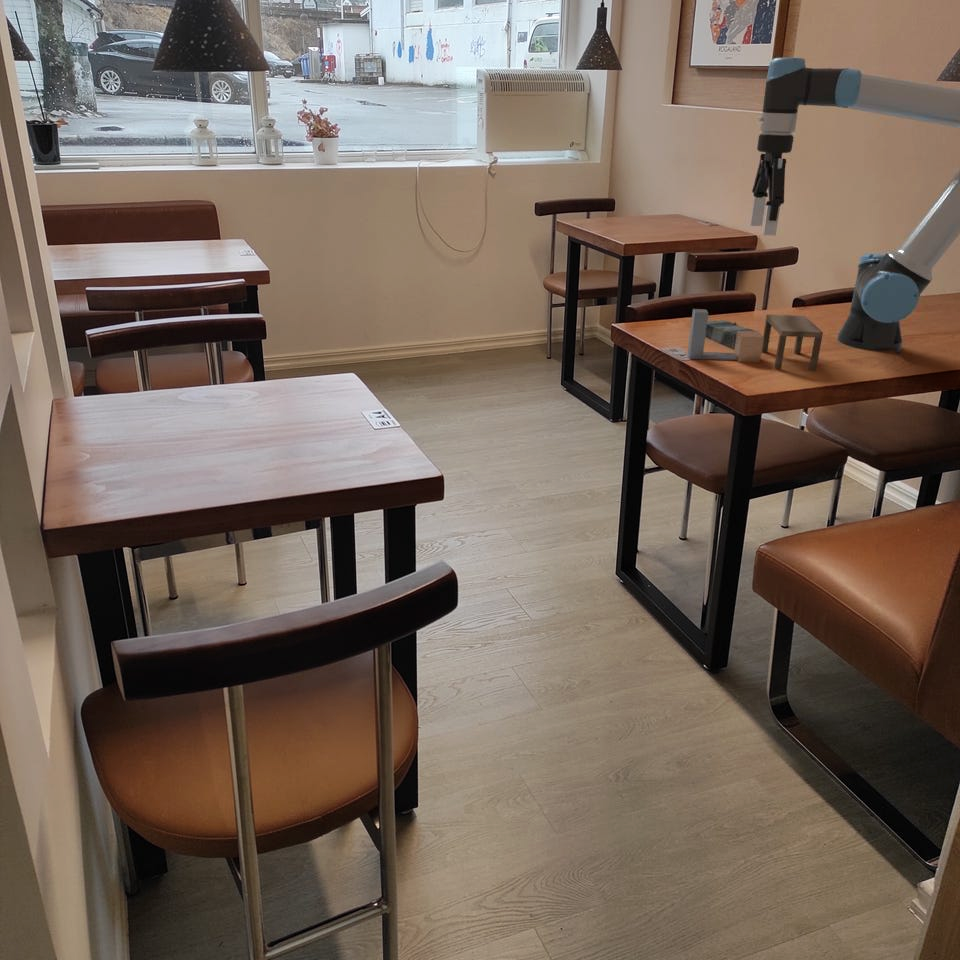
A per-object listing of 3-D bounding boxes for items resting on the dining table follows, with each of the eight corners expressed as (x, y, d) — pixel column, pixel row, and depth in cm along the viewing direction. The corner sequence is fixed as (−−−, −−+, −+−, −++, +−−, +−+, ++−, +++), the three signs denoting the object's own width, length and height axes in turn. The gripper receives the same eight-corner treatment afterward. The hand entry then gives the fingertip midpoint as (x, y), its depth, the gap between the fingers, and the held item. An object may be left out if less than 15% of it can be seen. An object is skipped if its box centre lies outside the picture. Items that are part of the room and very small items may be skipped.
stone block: (725, 337, 234) (728, 317, 232) (760, 352, 222) (764, 331, 220) (696, 339, 231) (699, 319, 229) (730, 355, 219) (733, 334, 217)
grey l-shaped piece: (755, 356, 213) (762, 310, 208) (759, 362, 208) (767, 315, 204) (686, 353, 214) (692, 308, 209) (690, 360, 209) (695, 313, 204)
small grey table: (797, 357, 217) (805, 315, 213) (814, 376, 204) (823, 332, 200) (760, 356, 218) (766, 314, 213) (774, 374, 204) (781, 330, 200)
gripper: (747, 129, 214) (735, 221, 222) (773, 136, 191) (758, 238, 200) (779, 130, 213) (766, 222, 222) (808, 137, 191) (792, 239, 199)
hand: (762, 230), depth 211 cm, fingers open, 13 cm apart
